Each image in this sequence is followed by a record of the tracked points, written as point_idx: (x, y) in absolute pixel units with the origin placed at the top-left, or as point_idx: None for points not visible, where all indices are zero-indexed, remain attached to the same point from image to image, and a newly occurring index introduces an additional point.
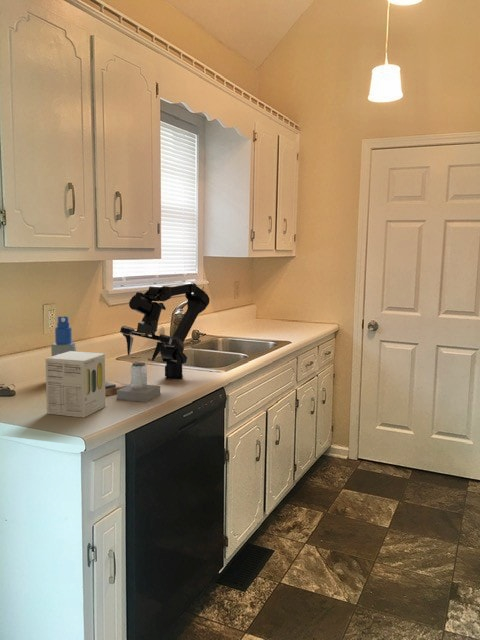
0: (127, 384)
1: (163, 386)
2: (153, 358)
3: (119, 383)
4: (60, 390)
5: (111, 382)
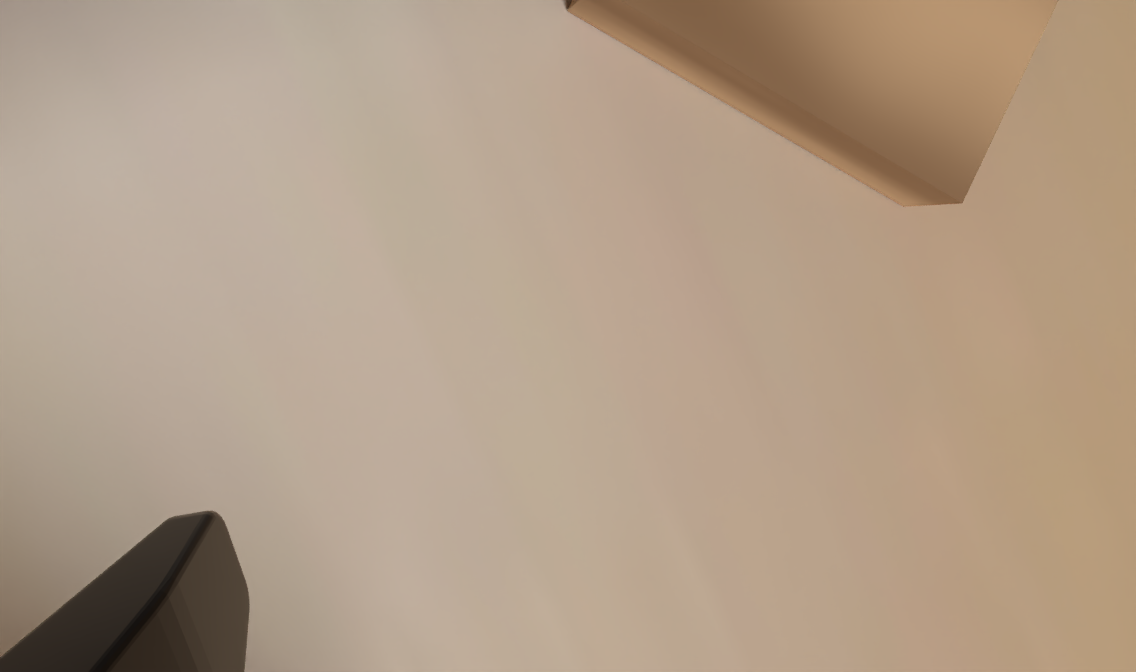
0: (662, 14)
1: (62, 527)
2: (123, 560)
3: (843, 51)
4: None
5: (1009, 84)
